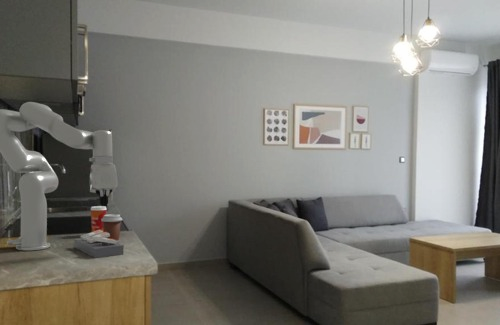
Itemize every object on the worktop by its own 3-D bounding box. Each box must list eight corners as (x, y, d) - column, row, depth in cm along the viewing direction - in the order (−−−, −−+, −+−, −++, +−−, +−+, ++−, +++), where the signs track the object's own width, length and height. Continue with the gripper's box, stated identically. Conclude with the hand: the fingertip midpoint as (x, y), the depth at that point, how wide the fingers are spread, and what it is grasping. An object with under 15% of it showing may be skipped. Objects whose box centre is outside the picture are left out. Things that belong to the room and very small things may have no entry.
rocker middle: (90, 243, 164) (90, 240, 163) (86, 241, 167) (86, 238, 167) (110, 236, 169) (109, 233, 168) (106, 234, 172) (105, 231, 172)
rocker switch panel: (95, 258, 155) (95, 246, 155) (74, 247, 173) (74, 237, 173) (123, 254, 162) (123, 243, 162) (100, 244, 180) (100, 234, 180)
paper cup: (87, 235, 203) (87, 206, 203) (102, 233, 208) (103, 205, 208) (93, 237, 197) (94, 207, 197) (109, 235, 203) (109, 207, 203)
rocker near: (96, 241, 158) (97, 237, 158) (92, 239, 162) (93, 236, 162) (116, 243, 163) (117, 240, 163) (111, 242, 167) (112, 238, 167)
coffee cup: (121, 239, 194) (121, 213, 194) (122, 242, 185) (123, 216, 185) (100, 240, 190) (101, 214, 190) (100, 243, 182) (101, 216, 182)
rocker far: (84, 240, 169) (84, 237, 169) (81, 238, 172) (80, 235, 172) (103, 233, 174) (102, 230, 174) (99, 232, 177) (99, 229, 177)
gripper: (87, 161, 161) (88, 208, 161) (124, 160, 170) (125, 205, 170) (80, 161, 167) (81, 207, 166) (117, 161, 176) (118, 204, 176)
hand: (103, 206), depth 168 cm, fingers closed
